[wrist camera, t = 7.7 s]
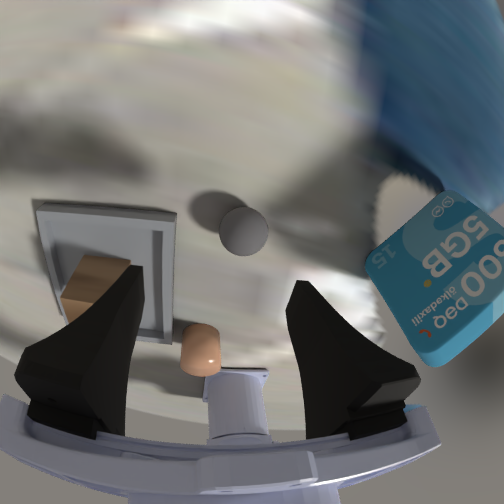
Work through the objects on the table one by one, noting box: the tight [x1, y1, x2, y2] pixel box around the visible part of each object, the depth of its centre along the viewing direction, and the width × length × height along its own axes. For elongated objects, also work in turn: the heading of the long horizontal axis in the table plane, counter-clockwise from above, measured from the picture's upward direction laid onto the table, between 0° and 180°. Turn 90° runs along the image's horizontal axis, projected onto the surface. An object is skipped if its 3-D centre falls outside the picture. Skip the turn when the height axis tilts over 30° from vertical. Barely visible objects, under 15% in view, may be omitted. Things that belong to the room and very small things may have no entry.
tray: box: [36, 203, 177, 345], centre depth 22 cm, size 14×12×2 cm
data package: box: [365, 190, 504, 367], centre depth 19 cm, size 12×4×12 cm, turn 133°
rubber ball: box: [219, 207, 268, 256], centre depth 20 cm, size 4×4×4 cm
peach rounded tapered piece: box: [180, 324, 221, 377], centre depth 27 cm, size 4×4×4 cm
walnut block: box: [60, 255, 131, 323], centre depth 20 cm, size 4×4×6 cm
